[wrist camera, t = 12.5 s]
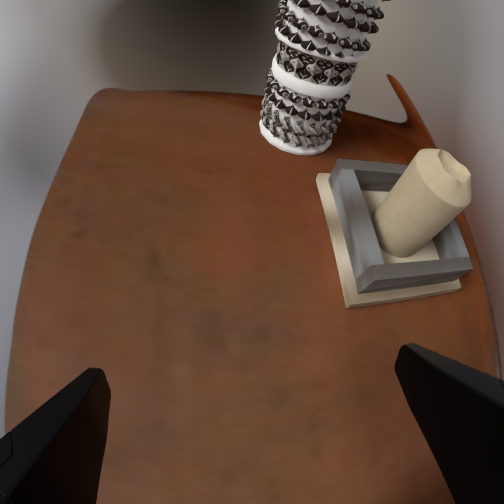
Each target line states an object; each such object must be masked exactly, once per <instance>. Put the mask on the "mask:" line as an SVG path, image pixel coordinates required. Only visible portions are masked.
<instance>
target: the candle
mask: <svg viewBox="0 0 504 504" xmlns="http://www.w3.org/2000/svg"><path fill="white" fill-rule="evenodd" d="M471 197H472V194H471V174H470V172H469V171H468V169H467V168H466V167H465V166H464V165H462V164H460V163H458V161H457V160H455V159H454V158H453V157H452V156H451V155H450V154H449V153H448V152H447V151H445V150H442V149H422V150H420V151H419V152H418V153H417V154H416V156H415V157H414V158H413V160H412V161H411V163H410V164H409V166H408V167H407V168H406V170H405V171H404V173H403V174H402V176H401V177H400V178H399V180H398V181H397V182H396V184H395V185H394V187H393V188H392V189H391V191H390V192H389V193H388V195H387V196H386V197H385V199H384V200H383V202H382V203H381V204H380V206H379V207H378V208H377V210H376V211H375V213H374V215H373V217H372V220H371V221H372V224H373V228H374V231H375V234H376V237H377V241H378V244H379V245H380V246H381V247H382V248H383V249H384V250H385V251H386V252H388V253H389V254H391V255H393V256H395V257H400V258H406V257H409V256H411V255H413V254H415V253H416V252H417V251H418V250H420V249H421V248H422V247H423V246H424V245H425V244H427V243H428V242H429V241H430V240H431V239H432V238H433V237H434V236H435V235H437V234H438V233H439V232H440V231H441V230H442V229H443V228H444V227H445V226H446V225H448V224H449V223H450V222H451V221H452V220H453V219H454V218H455V217H456V216H457V215H458V214H459V213H460V212H461V211H462V210H463V209H464V208H465V207H466V206H467V205H468V204H469V203H470V201H471Z"/></svg>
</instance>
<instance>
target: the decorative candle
mask: <svg viewBox="0 0 504 504" xmlns="http://www.w3.org/2000/svg"><path fill="white" fill-rule="evenodd" d="M378 1H379V0H281V1H280V2H279V3H278V5H279V7H278V11H279V13H280V14H279V15H277V20H276V21H275V25H276V26H277V28H276V30H275V33H276V35H277V37H278V39H279V40H280V41H279V44H278V47H277V53H276V55H275V57H274V59H273V63H272V68H271V69H270V70H269V74H268V75H267V80H268V82H267V86H266V87H265V92H266V94H265V95H264V99H263V100H262V106H263V107H262V111H261V112H260V117H261V120H260V123H259V125H260V130H261V134H262V135H263V136H264V137H265V138H266V140H267V141H268V142H269V143H270V144H272V145H273V146H275V147H277V148H278V149H280V150H282V151H285V152H288V153H292V154H295V155H315V154H318V153H322V152H324V151H325V150H326V149H327V148H328V147H329V146H330V145H331V141H332V139H333V137H332V133H336V129H337V123H340V122H341V120H340V118H339V117H340V116H341V115H342V112H343V111H345V109H346V107H345V104H346V103H347V100H349V99H350V94H349V92H350V88H351V85H352V83H353V73H354V72H355V68H356V66H357V62H360V61H361V60H363V59H365V57H366V51H368V50H369V49H370V43H369V42H368V41H367V39H366V35H367V32H368V34H369V33H376V32H378V30H379V29H378V27H377V25H376V24H375V23H374V22H372V18H374V20H375V19H382V18H383V17H384V14H383V12H382V11H381V10H380V9H379V7H378V9H377V8H376V7H377V4H378ZM382 1H390V0H382Z"/></svg>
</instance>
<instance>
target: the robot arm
mask: <svg viewBox="0 0 504 504" xmlns="http://www.w3.org/2000/svg"><path fill="white" fill-rule="evenodd" d="M395 372H396V375H397V377H398V380H399V382H400V385H401V387H402V390H403V392H404V395H405V397H406V400H407V402H408V405H409V407H410V409H411V411H412V413H413V415H414V417H415V419H416V421H417V423H418V425H419V427H420V429H421V431H422V433H423V435H424V437H425V439H426V441H427V443H428V445H429V447H430V449H431V451H432V453H433V455H434V457H435V459H436V462H437V464H438V466H439V468H440V470H441V472H442V474H443V477H444V479H445V481H446V483H447V485H448V488H449V490H450V492H451V494H452V497H453V499H454V501H455V504H504V380H501V379H498V378H496V377H494V376H491V375H489V374H486V373H484V372H481V371H479V370H476V369H474V368H472V367H469V366H467V365H464V364H462V363H460V362H457V361H455V360H452V359H450V358H448V357H445V356H443V355H440V354H438V353H436V352H433V351H431V350H429V349H426V348H424V347H422V346H419V345H417V344H415V343H409V344H405V345H403V346H402V347H401V348H400V350H399V354H398V357H397V360H396V363H395ZM110 399H111V391H110V387H109V385H108V382H107V379H106V376H105V373H104V371H103V370H102V369H100V368H88V369H87V370H86V371H84V372H83V373H82V374H80V375H79V376H78V377H77V378H75V379H74V380H73V381H72V382H70V383H69V384H68V385H67V386H65V387H64V388H63V389H62V390H60V391H59V392H58V393H57V394H55V395H54V396H53V397H52V398H50V399H49V400H48V401H47V402H45V403H44V404H43V405H42V406H40V407H39V408H38V409H37V410H35V411H34V412H33V413H32V414H31V415H29V416H28V417H27V418H26V419H24V420H23V421H22V422H21V423H19V424H18V425H17V426H16V427H14V428H13V429H12V430H11V432H10V431H9V432H8V433H7V434H6V435H4V436H3V437H2V438H1V439H0V504H96V500H97V493H98V486H99V480H100V474H101V468H102V462H103V457H104V451H105V446H106V440H107V431H108V419H109V409H110Z"/></svg>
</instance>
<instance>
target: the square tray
mask: <svg viewBox="0 0 504 504" xmlns="http://www.w3.org/2000/svg"><path fill="white" fill-rule="evenodd" d="M407 167H408V165H400V164H391V163H382V162H371V161H360V160H347V159H337V162H336V164H335V166H334V168H333V170H332V172H331V174H329V173H318V175H317V178H316V182H317V186H318V190H319V193H320V197H321V201H322V205H323V208H324V212H325V216H326V220H327V224H328V228H329V232H330V236H331V240H332V245H333V249H334V253H335V258H336V262H337V267H338V271H339V276H340V280H341V285H342V290H343V295H344V300H345V305H346V308H353V307H361V306H368V305H375V304H382V303H389V302H396V301H402V300H409V299H415V298H421V297H427V296H433V295H438V294H444V293H449V292H455V291H457V290H459V289H460V288H461V285H460V281H459V278H460V277H462V276H463V275H465V274H466V273H468V272H469V271H471V270H472V269H473V266H472V263H471V260H470V257H469V254H468V251H467V249H466V246H465V243H464V240H463V238H462V235H461V232H460V230H459V227H458V225H457V222H456V220H455V218H454V219H453V220H452V221H451V222H450V223H449V224H448V225H446V226H445V227H444V228H443V229H442V230H441V231H440V232H439V233H438V234H437V235H435V236H434V237H433V238H432V239H431V240H430V241H429V242H428V243H427V244H425V245H424V246H423V247H422V248H421V249H420V250H418V251H417V252H416V253H415V254H413V255H411V256H409V257H406V258H400V257H395V256H393V255H391V254H389V253H388V252H386V251H385V250H384V249H383V248H382V247H381V246H380V245H379V244H378V241H377V237H376V234H375V231H374V228H373V224H372V221H371V220H372V217H373V215H374V213H375V211H376V210H377V208H378V207H379V206H380V204H381V203H382V202H383V200H384V199H385V197H386V196H387V195H388V193H389V192H390V191H391V189H392V188H393V187H394V185H395V184H396V182H397V181H398V180H399V178H400V177H401V176H402V174H403V173H404V171H405V170H406V168H407Z"/></svg>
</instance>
